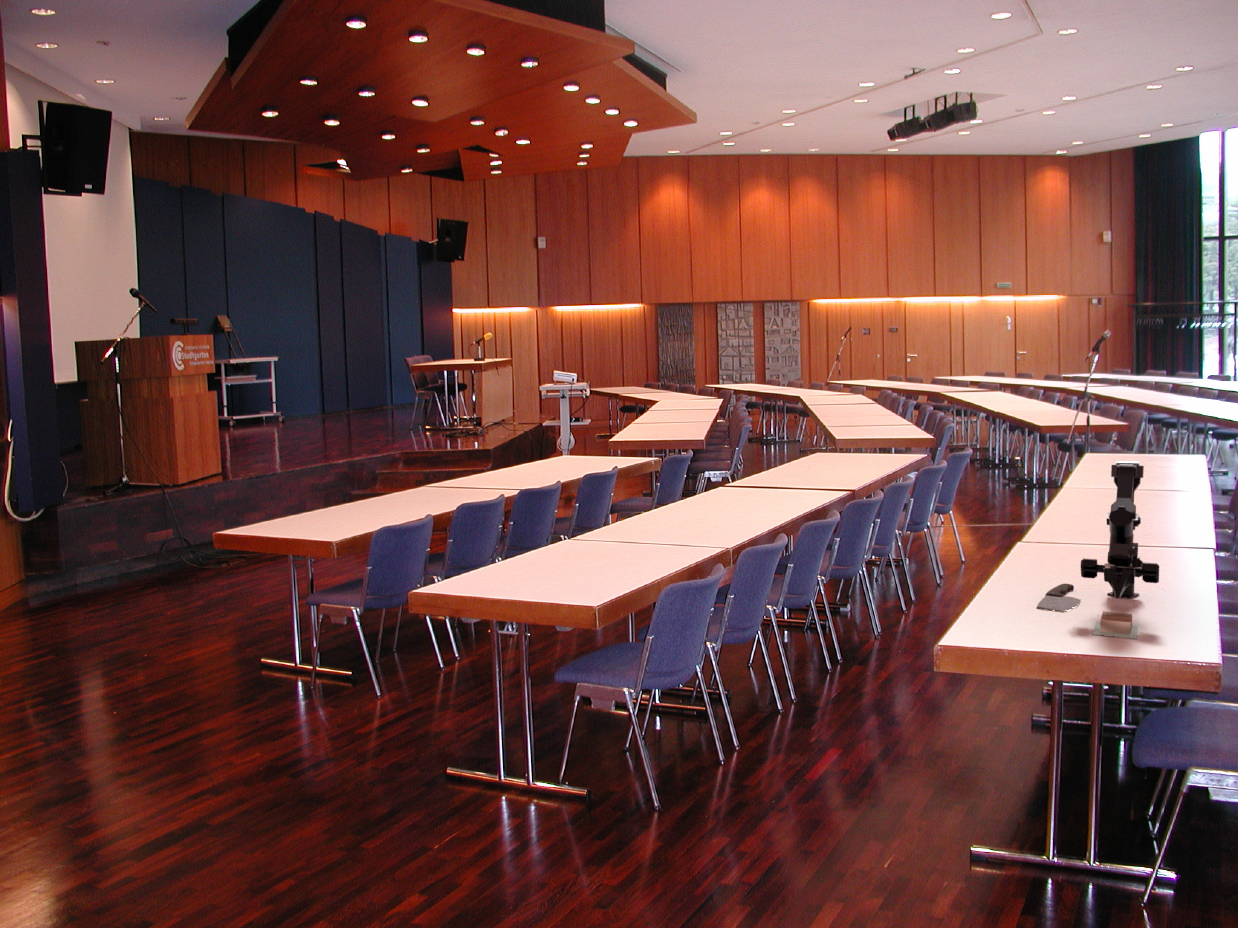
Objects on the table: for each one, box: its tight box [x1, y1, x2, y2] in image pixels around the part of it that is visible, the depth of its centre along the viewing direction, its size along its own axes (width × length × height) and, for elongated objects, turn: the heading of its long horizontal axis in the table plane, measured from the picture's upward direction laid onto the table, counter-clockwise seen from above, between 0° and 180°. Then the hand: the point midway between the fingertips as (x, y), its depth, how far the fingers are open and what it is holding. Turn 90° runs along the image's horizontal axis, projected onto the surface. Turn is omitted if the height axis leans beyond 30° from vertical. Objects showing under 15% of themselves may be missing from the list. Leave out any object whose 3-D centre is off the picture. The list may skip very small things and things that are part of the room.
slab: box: [1099, 610, 1133, 634], centre depth 270 cm, size 3×7×10 cm
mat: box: [1092, 621, 1139, 640], centre depth 268 cm, size 12×10×1 cm
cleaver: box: [1036, 583, 1082, 613], centre depth 301 cm, size 29×10×2 cm, turn 147°
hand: (1117, 597), depth 271 cm, fingers closed
